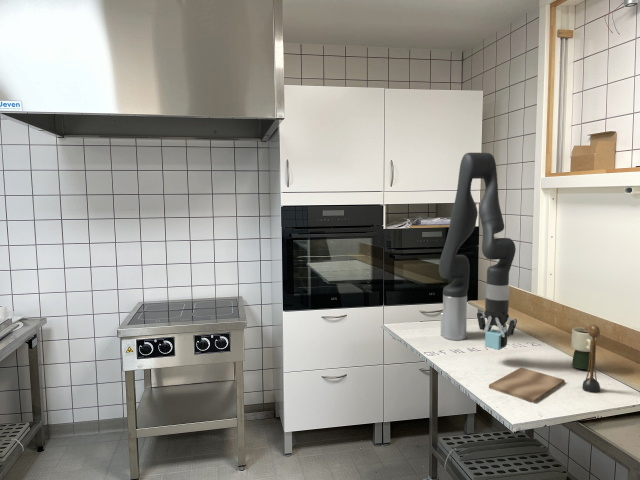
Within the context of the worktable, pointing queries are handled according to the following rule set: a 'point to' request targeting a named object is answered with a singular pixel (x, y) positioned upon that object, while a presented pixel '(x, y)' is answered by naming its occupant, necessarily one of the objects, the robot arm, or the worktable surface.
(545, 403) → the worktable surface
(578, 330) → the character mug
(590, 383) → the wooden tabletop sculpture
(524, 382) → the walnut board
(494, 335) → the teal cube
